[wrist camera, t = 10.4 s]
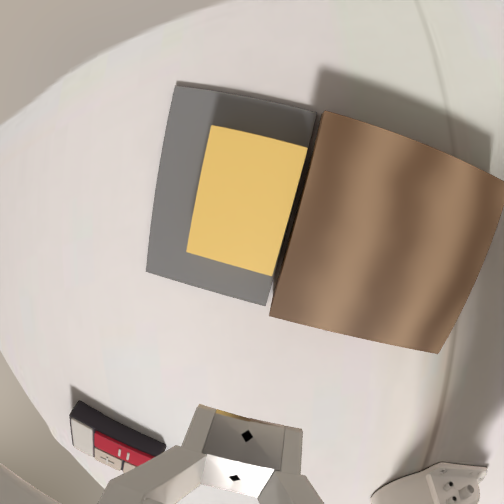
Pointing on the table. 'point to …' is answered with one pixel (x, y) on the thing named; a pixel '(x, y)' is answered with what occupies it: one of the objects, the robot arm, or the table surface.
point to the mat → (188, 175)
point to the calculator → (110, 439)
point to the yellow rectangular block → (244, 198)
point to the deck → (385, 237)
